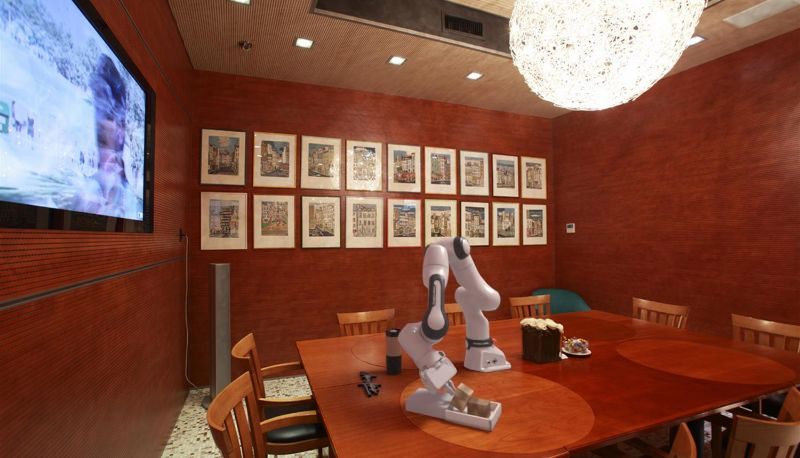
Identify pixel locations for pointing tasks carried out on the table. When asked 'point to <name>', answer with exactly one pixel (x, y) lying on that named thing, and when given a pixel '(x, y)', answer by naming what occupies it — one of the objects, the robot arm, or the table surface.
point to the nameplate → (369, 383)
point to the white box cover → (429, 403)
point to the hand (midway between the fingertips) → (454, 393)
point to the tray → (475, 417)
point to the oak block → (461, 397)
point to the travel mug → (393, 352)
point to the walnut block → (479, 407)
